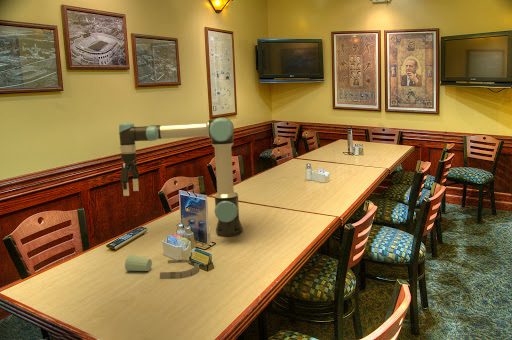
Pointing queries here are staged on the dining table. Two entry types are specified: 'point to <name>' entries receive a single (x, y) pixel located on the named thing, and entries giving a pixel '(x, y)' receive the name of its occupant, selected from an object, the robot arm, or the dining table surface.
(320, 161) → the dining table surface
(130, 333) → the dining table surface
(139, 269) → the cup
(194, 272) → the split ring
